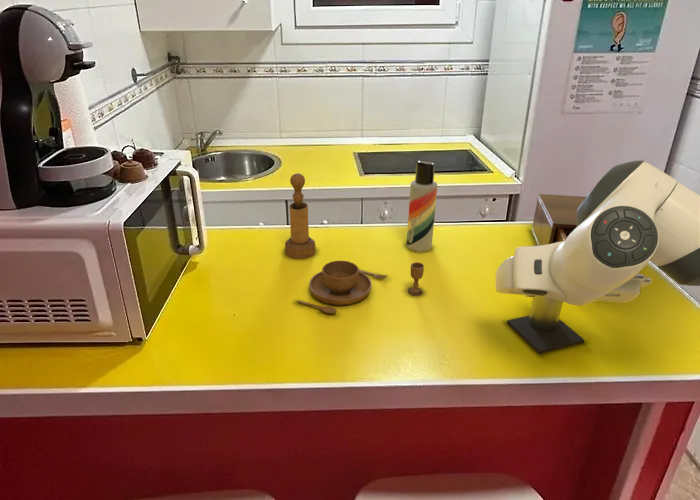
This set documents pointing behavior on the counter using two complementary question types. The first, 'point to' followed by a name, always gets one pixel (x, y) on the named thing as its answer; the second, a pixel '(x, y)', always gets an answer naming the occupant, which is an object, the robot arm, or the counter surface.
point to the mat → (545, 335)
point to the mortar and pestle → (299, 223)
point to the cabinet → (554, 216)
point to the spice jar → (545, 313)
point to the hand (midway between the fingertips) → (551, 294)
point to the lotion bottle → (422, 208)
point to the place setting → (349, 284)
